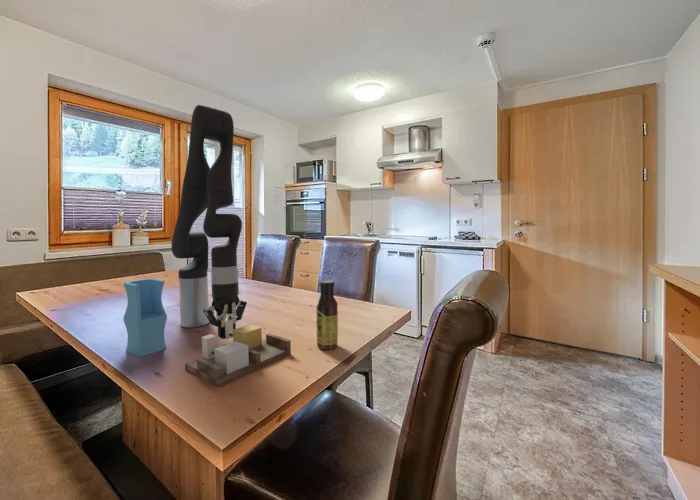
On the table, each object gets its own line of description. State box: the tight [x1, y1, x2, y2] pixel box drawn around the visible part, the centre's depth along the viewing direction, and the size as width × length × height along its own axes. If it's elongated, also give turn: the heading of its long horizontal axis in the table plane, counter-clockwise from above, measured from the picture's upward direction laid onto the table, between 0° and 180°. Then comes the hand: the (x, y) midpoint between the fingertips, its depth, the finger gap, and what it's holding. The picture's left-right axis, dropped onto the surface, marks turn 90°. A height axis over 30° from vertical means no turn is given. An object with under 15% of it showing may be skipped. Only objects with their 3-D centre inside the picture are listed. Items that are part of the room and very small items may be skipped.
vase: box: [123, 278, 168, 357], centre depth 92 cm, size 8×8×20 cm
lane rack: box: [184, 333, 292, 388], centre depth 85 cm, size 15×22×4 cm
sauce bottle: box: [316, 279, 339, 351], centre depth 94 cm, size 7×6×20 cm
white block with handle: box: [201, 333, 249, 374], centre depth 81 cm, size 14×6×6 cm, turn 54°
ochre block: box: [224, 317, 263, 349], centre depth 94 cm, size 14×6×6 cm, turn 54°
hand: (227, 336), depth 98 cm, fingers closed on ochre block, 2 cm apart
